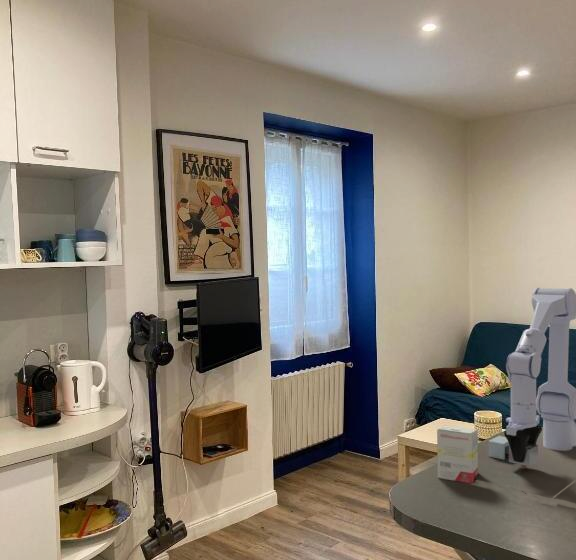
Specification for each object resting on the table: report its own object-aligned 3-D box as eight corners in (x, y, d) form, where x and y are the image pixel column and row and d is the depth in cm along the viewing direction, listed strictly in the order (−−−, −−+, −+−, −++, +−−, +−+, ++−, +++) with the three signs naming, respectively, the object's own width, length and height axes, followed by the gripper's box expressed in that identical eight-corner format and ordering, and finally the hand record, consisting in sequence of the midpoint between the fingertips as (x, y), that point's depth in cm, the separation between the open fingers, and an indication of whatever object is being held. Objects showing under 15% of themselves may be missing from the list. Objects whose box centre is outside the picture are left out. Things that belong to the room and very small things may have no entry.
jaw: (517, 456, 150) (517, 440, 150) (537, 461, 146) (538, 444, 146) (508, 461, 146) (508, 445, 146) (529, 466, 143) (529, 449, 143)
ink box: (479, 478, 144) (478, 428, 144) (473, 484, 140) (473, 433, 140) (443, 471, 149) (443, 423, 149) (436, 477, 145) (436, 428, 145)
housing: (498, 450, 160) (498, 435, 160) (513, 454, 158) (513, 438, 158) (488, 456, 156) (488, 440, 156) (503, 459, 153) (503, 443, 153)
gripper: (519, 395, 154) (519, 448, 154) (493, 405, 143) (494, 462, 144) (547, 399, 149) (547, 454, 149) (523, 410, 139) (523, 469, 139)
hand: (523, 458), depth 146 cm, fingers closed on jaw, 5 cm apart
